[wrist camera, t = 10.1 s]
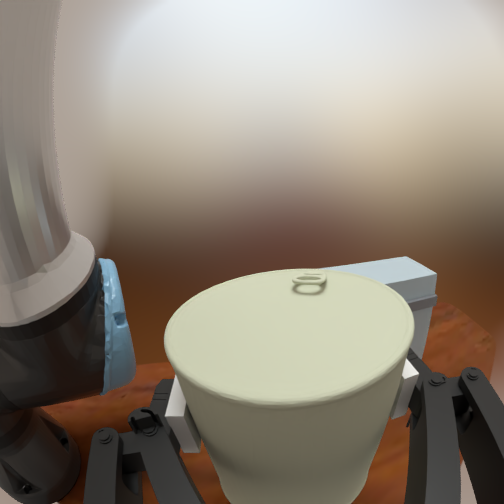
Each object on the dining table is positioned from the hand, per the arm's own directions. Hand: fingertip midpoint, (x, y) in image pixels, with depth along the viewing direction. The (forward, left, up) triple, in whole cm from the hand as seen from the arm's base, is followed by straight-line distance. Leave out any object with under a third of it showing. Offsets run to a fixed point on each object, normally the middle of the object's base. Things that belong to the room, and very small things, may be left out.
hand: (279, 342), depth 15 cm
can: (+1, -4, -7) cm, 9 cm away
